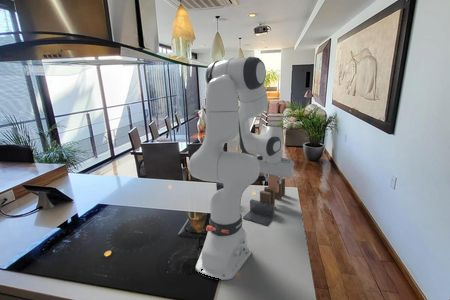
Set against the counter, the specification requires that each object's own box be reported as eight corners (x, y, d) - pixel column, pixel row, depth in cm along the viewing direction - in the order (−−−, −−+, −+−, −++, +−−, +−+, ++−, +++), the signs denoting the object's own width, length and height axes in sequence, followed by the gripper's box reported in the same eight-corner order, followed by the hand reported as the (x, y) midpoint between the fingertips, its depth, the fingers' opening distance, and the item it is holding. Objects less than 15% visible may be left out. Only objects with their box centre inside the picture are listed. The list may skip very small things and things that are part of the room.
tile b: (280, 199, 128) (280, 182, 126) (271, 197, 131) (272, 180, 128) (281, 198, 130) (282, 181, 127) (273, 196, 132) (273, 179, 130)
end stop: (266, 225, 106) (266, 213, 104) (243, 218, 112) (242, 207, 111) (274, 216, 113) (274, 204, 111) (251, 210, 119) (251, 199, 118)
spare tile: (269, 189, 127) (269, 172, 124) (278, 191, 124) (278, 173, 121) (268, 190, 126) (268, 173, 123) (277, 192, 123) (277, 174, 120)
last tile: (269, 212, 116) (269, 193, 114) (260, 210, 119) (259, 191, 116) (270, 211, 118) (270, 192, 115) (261, 208, 120) (261, 190, 118)
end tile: (283, 196, 132) (284, 179, 130) (275, 194, 135) (275, 177, 132) (284, 194, 134) (285, 178, 131) (276, 193, 136) (276, 176, 134)
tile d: (273, 208, 120) (273, 189, 118) (264, 205, 123) (264, 187, 120) (274, 206, 122) (274, 188, 119) (265, 204, 124) (265, 186, 122)
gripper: (296, 157, 117) (295, 183, 120) (258, 152, 128) (258, 176, 131) (291, 161, 112) (291, 188, 115) (252, 156, 123) (253, 180, 126)
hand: (273, 182), depth 124 cm, fingers closed on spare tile, 5 cm apart
